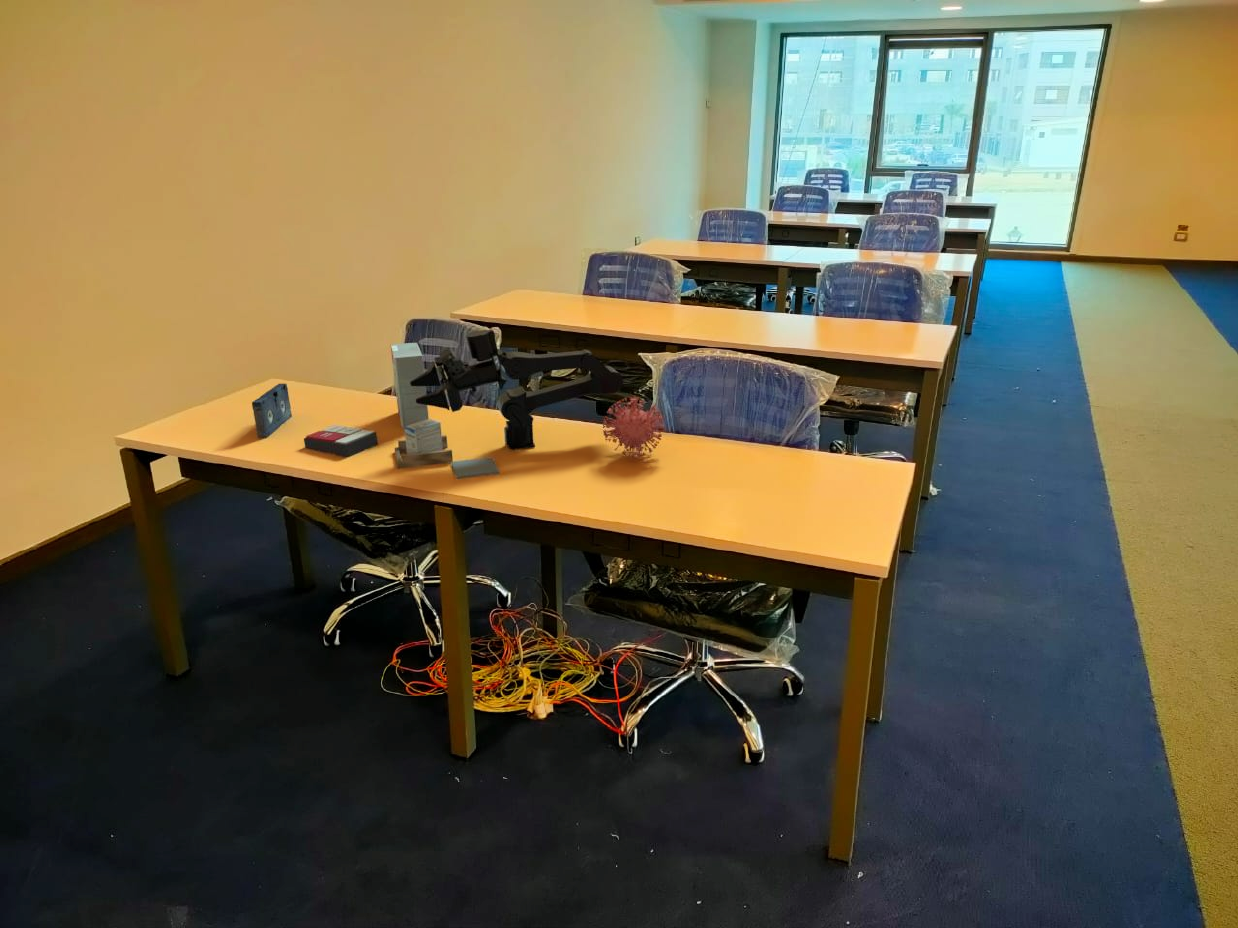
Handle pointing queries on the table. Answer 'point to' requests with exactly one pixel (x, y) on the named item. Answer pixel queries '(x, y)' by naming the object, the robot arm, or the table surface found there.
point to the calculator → (341, 440)
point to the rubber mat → (474, 467)
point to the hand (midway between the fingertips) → (413, 392)
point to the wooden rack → (422, 456)
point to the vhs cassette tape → (271, 410)
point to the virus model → (633, 427)
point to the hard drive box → (408, 382)
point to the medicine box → (423, 437)
